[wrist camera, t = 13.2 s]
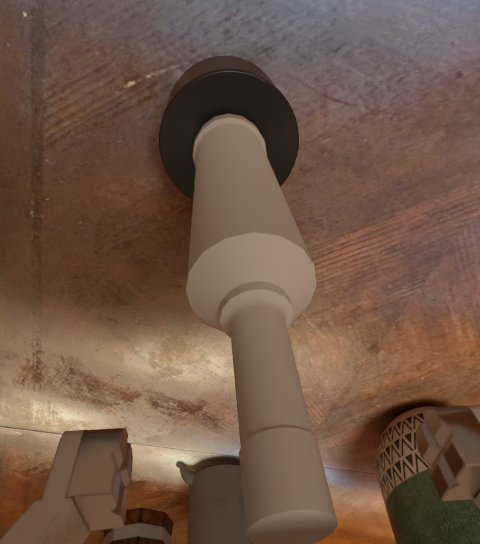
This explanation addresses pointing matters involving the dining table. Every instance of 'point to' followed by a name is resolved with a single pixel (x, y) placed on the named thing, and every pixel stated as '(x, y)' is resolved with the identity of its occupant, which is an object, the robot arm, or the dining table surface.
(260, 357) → the bottle
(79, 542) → the robot arm
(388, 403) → the dining table surface
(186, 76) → the canister
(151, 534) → the mug
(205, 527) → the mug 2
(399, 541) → the planter
